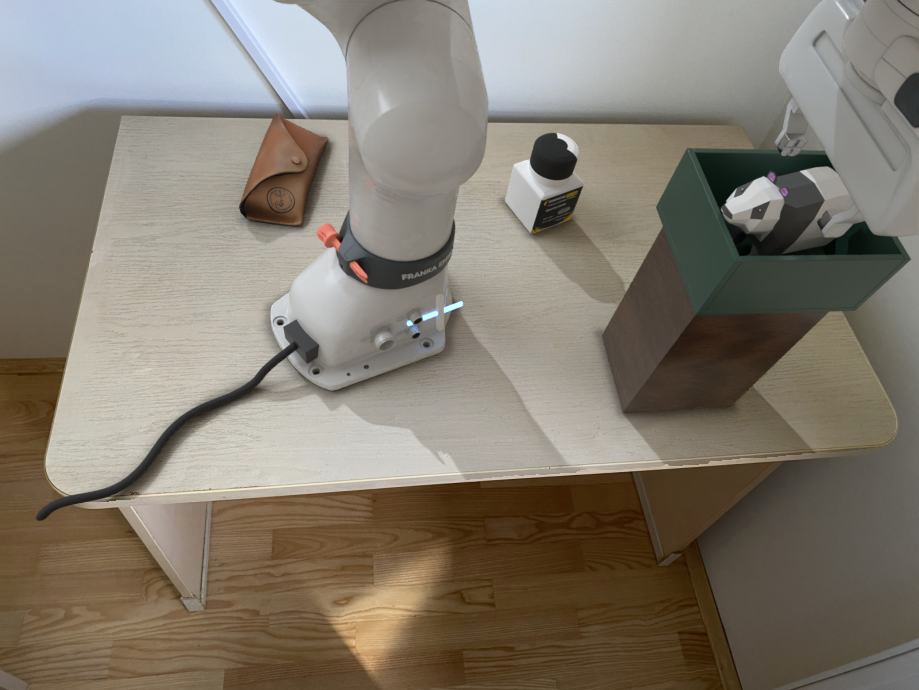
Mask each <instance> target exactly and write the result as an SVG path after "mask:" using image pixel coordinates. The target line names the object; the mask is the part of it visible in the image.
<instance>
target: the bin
mask: <svg viewBox="0 0 919 690" xmlns="http://www.w3.org/2000/svg"><path fill="white" fill-rule="evenodd" d="M815 167H829V168H831V169H833V170H834V171H835V172H836V170H835V168H834V167H833V165H832V163H831V162H830V160H829V158H828V156H827V155H826V153H825V151H824V150H819V149H817V150H816V149H815V150H813V149H812V150H811V149H801V151H800V152H799V153H798V154H797V155H795V156H788V155H786V156H782V155H781V154H780V152H779V151H778V149H768V148H767V149H765V148H764V149H762V148H760V149H759V148H758V149H757V148H712V147H711V148H709V147H708V148H707V147H706V148H704V147H687V148H686V149H685V151H684V153H683V154H682V157H681V159H680V160H679V162H678V164H677V165H676V167H675V169H674V171H673V173H672V175H671V178H670V179H669V181H668V183H667V185H666V186H665V189H664V191H663V193H662V194H661V196H660V198H659V200H658V201H657V204H656V206H655V209H656V211H657V214H658V217H659V219H660V223H661V225H662V227H663V228H664V231H665V233H666V236H667V239H668V242H669V244H670V247H671V250H672V253H673V255H674V258H675V261H676V263H677V266H678V269H679V272H680V274H681V277H682V280H683V283H684V285H685V288H686V291H687V293H688V296H689V299H690V302H691V304H692V307H693V310H694V313H695V315H725V314H762V313H798V312H828V313H832V312H833V313H834V312H855V311H857V310H858V309H859V308H860V307H861V306H862V305H863V304H864V303H866V302H867V301H868V300H869V299H870V298H871V297H872V296H873V295H874V294H875V293H876V292H877V291H879V290H880V289H881V288H882V287H883V286H884V285H885V284H886V283H888V281H890V279H892V278H893V277H894V276H896V274H897V273H898V272H900V271H901V269H903V268H904V267H905V266H906V265H907V264H909V262H910V261H911V260H912V258H911V256H910V255H909V253H908V251H907V250H906V248H905V246H904V245H903V243H902V242H901V240H900V237H894V236H879V235H875V234H873V233H872V232H871V230H870V229H869V227H868V225H867V223H866V222H865V221H863V222H859V223H856V224H853V225H852V226H851V227H850V228H849V229H848V230H847V231H846V232H845V233H844V234H843V235H842V236H840V237H836V238H835V239H834V240H832V241H831V242H829V243H828V244H827V245H825V246H823V247H821V248H819V249H818V250H816V251H815V252H814V253H812V254H811V255H796V256H783V255H782V254H781V255H779V256H747V255H749V254H750V253H751V249H752V246H753V243H752V241H751V240H750V239H749V238H748V236H747V237H746V238H745V239H744V241H743V242H742V243H740V244H738V245H735V244H734V242H733V240H732V237H731V235H730V233H729V231H728V228H727V227H728V226H729V225H730V223H729V222H728V221H727V220H726V219H725V218H724V216H723V212H722V211H721V207H722V206H723V205H725V204H726V203H727V202H726V201H727V199H728V198H729V197H730V196H731V194H732V193H733V192H734V191H735V190H736V188H738V187H740V186H742V185H744V184H747V183H749V182H751V181H753V180H756V179H758V178H761V177H763V176H764V177H766V178H767V175H768V173H769V172H770V171H773V172H775V173H776V175H777V177H778V176H783V175H787V174H791V173H795V172H799V171H803V170H807V169H811V168H815ZM836 173H837V172H836Z"/></svg>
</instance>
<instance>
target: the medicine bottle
mask: <svg viewBox="0 0 919 690" xmlns="http://www.w3.org/2000/svg"><path fill="white" fill-rule="evenodd" d="M580 155H581V154H580V148H579V146H578V144H577V143H576V142H575V140H573V139H572V138H571V137H570V136H567V135H565V134H563V133H559V132H547V133H544V134H542V135H540V136H538V137H537V138H536V139H535V141H534V143H533V145H532V150H531V153H530V158H528V159H525V160H522V161H519V162H516V163H514V164H513V167H512V170H511V174H510V178H509V182H508V186H507V189H506V193H505V198H504V202H505V204H506V205H507V206H508V207H509V209H510V210H511V211H512V212H513V214H514V215H515V216H516V218H517V219H518V220H519V221H520V222H521V224H522V225H523V226H524V228H525V229H526V230H527V231H528V233H529V234H531V235H534V234H536V233H539V232H541V231H544V230H547V229H549V228H552V227H554V226H555V227H556V226H557V225H560V224H562V223H565V222H568V221H570V220H571V219H572V217H573V215H574V212H575V209H576V206H577V205H578V201H579V199H580V196H581V194H582V192H583V188H584V186H585V183H584V181H582V179H581V178H580V177H579V176H578V174H576V172H575V169H576V167H577V163H578V161H579V158H580Z"/></svg>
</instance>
